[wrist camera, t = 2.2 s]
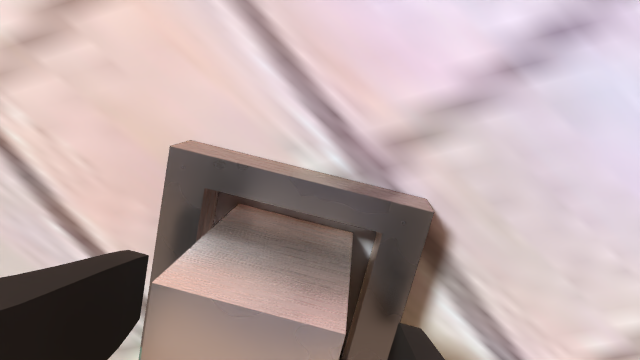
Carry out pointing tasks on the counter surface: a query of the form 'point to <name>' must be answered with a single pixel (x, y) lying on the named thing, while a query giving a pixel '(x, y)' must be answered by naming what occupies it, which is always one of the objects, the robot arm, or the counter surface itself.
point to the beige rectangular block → (253, 292)
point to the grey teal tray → (310, 198)
